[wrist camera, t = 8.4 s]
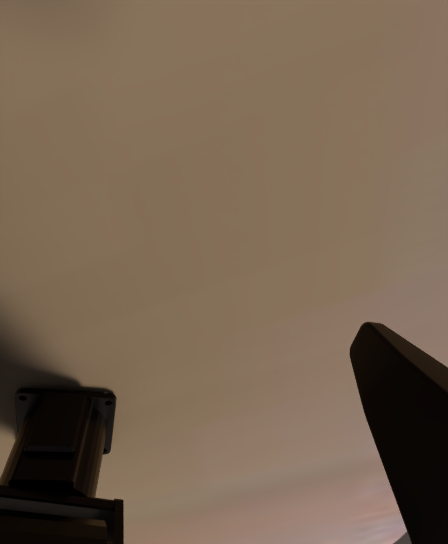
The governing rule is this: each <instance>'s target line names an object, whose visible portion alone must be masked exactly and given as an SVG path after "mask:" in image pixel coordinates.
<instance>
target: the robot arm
mask: <svg viewBox="0 0 448 544" xmlns="http://www.w3.org/2000/svg"><path fill="white" fill-rule="evenodd" d="M350 359H351V363H352V367H353V371H354V375H355V379H356V383H357V387H358V390H359V394H360V398H361V402H362V406H363V409H364V413H365V416H366V419H367V422H368V425H369V428H370V430H371V433H372V436H373V439H374V441H375V444H376V447H377V449H378V452H379V455H380V458H381V460H382V463H383V466H384V469H385V471H386V474H387V477H388V480H389V482H390V485H391V488H392V491H393V493H394V496H395V499H396V502H397V504H398V507H399V510H400V513H401V515H402V518H403V521H404V524H405V526H406V529H407V532H408V535H409V537H410V540H411V543H412V544H448V367H446V366H445V365H443V364H442V363H440V362H439V361H437V360H436V359H434V358H433V357H431V356H430V355H428V354H427V353H425V352H424V351H422V350H421V349H419V348H418V347H416V346H415V345H413V344H412V343H410V342H409V341H407V340H406V339H404V338H403V337H401V336H400V335H398V334H397V333H395V332H394V331H392V330H391V329H389V328H388V327H386V326H385V325H383V324H381V323H374V322H365V323H364V324H362V326H361V327H360V329H359V331H358V333H357V335H356V337H355V339H354V341H353V343H352V345H351V347H350ZM15 406H16V418H17V429H18V435H17V438H16V440H15V443H14V445H13V448H12V450H11V453H10V455H9V458H8V460H7V463H6V465H5V468H4V471H3V473H2V476H1V478H0V544H123V500H121V499H114V500H108V499H101V498H95V495H96V489H97V484H98V478H99V472H100V467H101V461H102V455H103V454H108V453H109V452H110V450H111V443H112V434H113V425H114V416H115V407H116V396H115V395H113V394H109V393H92V392H76V391H60V390H44V389H27V388H22V389H19V390H18V391H17V393H16V395H15Z"/></svg>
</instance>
